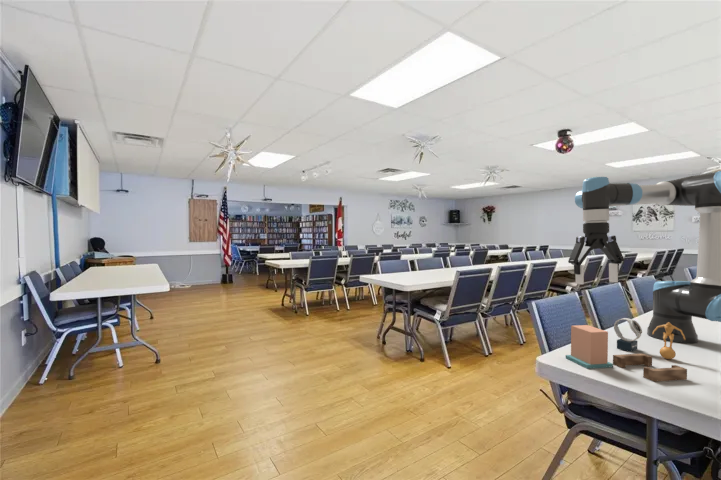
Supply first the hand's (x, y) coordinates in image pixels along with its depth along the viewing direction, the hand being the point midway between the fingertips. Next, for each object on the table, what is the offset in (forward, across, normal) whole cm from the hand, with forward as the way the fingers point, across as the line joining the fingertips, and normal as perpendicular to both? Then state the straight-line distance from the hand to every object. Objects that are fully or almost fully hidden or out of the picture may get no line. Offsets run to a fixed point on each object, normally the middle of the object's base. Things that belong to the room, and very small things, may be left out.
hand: (596, 283), depth 118 cm
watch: (+25, -14, -2) cm, 29 cm away
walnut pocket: (+25, -1, +17) cm, 30 cm away
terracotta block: (+23, +11, +7) cm, 27 cm away
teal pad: (+24, +11, +7) cm, 28 cm away
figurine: (+25, -19, +8) cm, 33 cm away
